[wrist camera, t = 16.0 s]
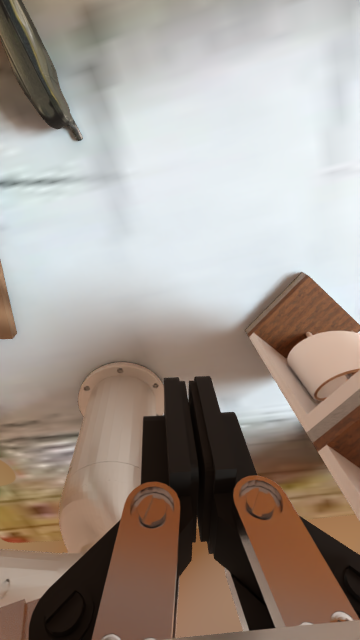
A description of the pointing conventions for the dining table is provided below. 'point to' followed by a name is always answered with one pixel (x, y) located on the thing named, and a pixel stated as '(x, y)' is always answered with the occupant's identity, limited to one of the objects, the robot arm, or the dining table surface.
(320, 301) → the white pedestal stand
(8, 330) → the rail board
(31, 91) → the mobile phone
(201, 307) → the dining table surface
